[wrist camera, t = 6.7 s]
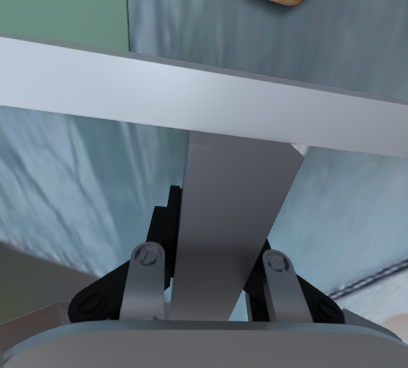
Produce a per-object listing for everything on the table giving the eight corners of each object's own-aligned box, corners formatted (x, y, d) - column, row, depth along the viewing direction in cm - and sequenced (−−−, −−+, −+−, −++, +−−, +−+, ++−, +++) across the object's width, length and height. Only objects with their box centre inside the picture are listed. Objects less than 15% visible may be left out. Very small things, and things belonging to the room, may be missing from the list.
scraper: (377, 94, 9) (532, 128, 5) (276, 268, 16) (305, 341, 12) (51, 38, 7) (-127, 19, 3) (99, 259, 15) (63, 340, 11)
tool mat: (120, -142, 14) (118, -147, 13) (133, 121, 23) (132, 122, 23) (-160, -220, 12) (-171, -228, 11) (-19, 101, 21) (-22, 101, 21)
